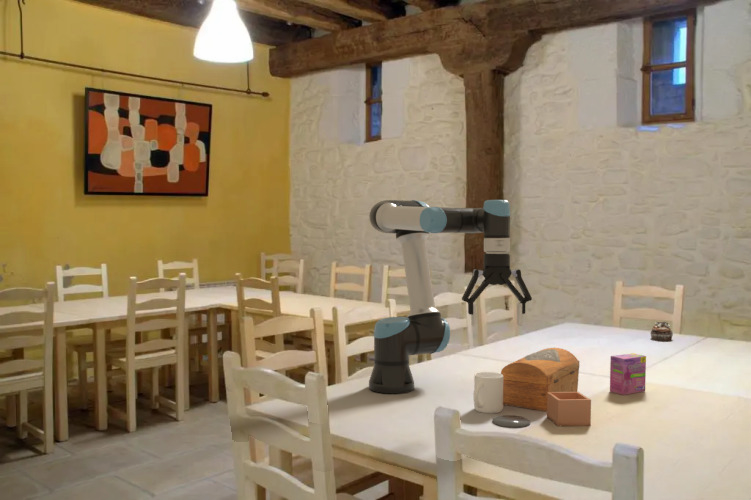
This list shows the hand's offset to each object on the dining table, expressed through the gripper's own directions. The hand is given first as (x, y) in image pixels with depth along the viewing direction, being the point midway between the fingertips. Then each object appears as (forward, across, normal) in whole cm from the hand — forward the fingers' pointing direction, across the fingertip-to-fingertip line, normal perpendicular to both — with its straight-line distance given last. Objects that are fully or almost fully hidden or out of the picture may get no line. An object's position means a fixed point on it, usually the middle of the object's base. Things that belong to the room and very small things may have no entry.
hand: (496, 325), depth 201 cm
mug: (+25, -4, -2) cm, 25 cm away
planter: (+25, +16, -14) cm, 33 cm away
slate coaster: (+25, 0, -14) cm, 28 cm away
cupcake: (+24, +105, +108) cm, 153 cm away
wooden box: (+25, +17, +13) cm, 33 cm away
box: (+25, +48, +18) cm, 57 cm away
